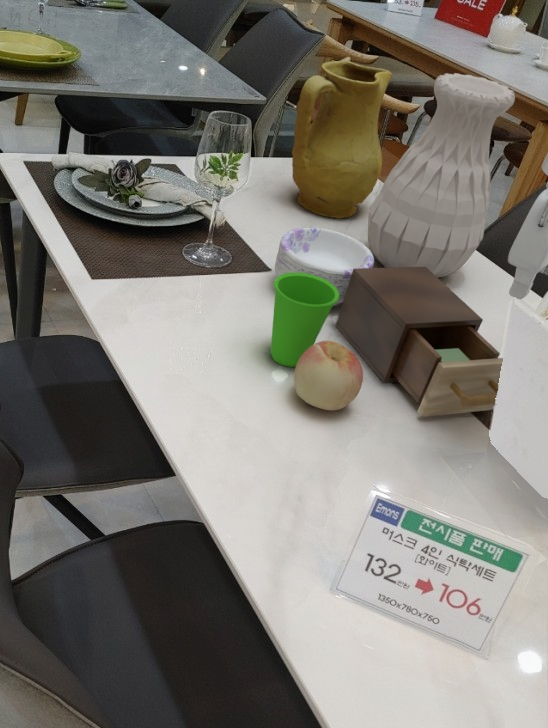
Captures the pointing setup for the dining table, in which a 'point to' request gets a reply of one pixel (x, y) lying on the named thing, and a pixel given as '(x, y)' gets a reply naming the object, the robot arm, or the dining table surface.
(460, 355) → the block
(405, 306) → the cabinet
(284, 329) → the cup
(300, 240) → the paper bowls
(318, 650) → the dining table surface
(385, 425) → the dining table surface
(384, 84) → the pitcher
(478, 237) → the vase
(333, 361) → the apple
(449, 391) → the drawer
